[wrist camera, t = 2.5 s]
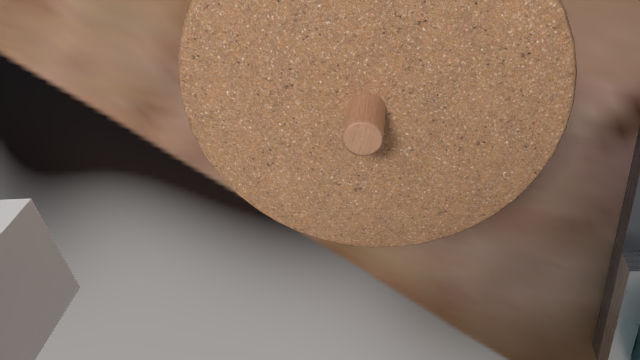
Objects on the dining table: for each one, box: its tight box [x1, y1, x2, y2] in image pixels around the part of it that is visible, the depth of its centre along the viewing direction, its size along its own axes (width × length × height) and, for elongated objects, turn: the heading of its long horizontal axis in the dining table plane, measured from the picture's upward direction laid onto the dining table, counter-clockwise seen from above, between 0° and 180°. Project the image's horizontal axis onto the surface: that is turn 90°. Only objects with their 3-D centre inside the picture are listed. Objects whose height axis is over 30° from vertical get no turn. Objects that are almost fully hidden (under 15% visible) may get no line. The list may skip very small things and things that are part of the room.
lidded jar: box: [178, 0, 577, 247], centre depth 18 cm, size 11×11×9 cm
